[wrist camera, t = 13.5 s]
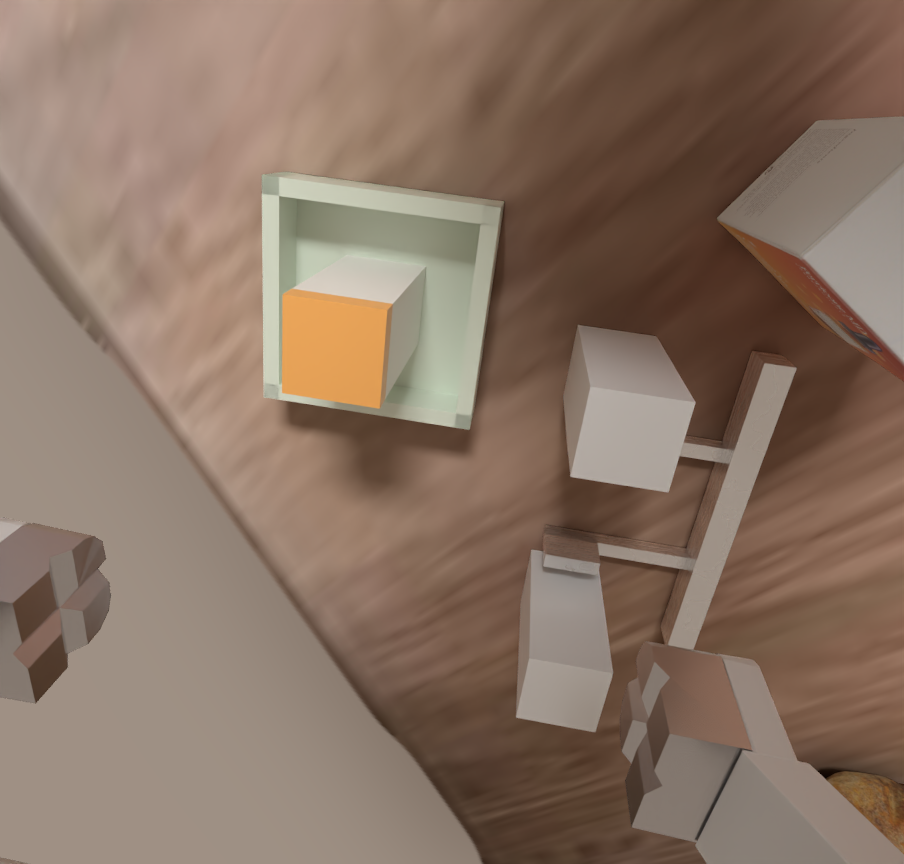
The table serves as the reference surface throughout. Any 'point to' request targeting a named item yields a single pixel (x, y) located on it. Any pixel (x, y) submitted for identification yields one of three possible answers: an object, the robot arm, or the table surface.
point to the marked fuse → (351, 330)
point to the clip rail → (717, 512)
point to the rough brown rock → (875, 801)
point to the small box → (836, 230)
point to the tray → (400, 240)
